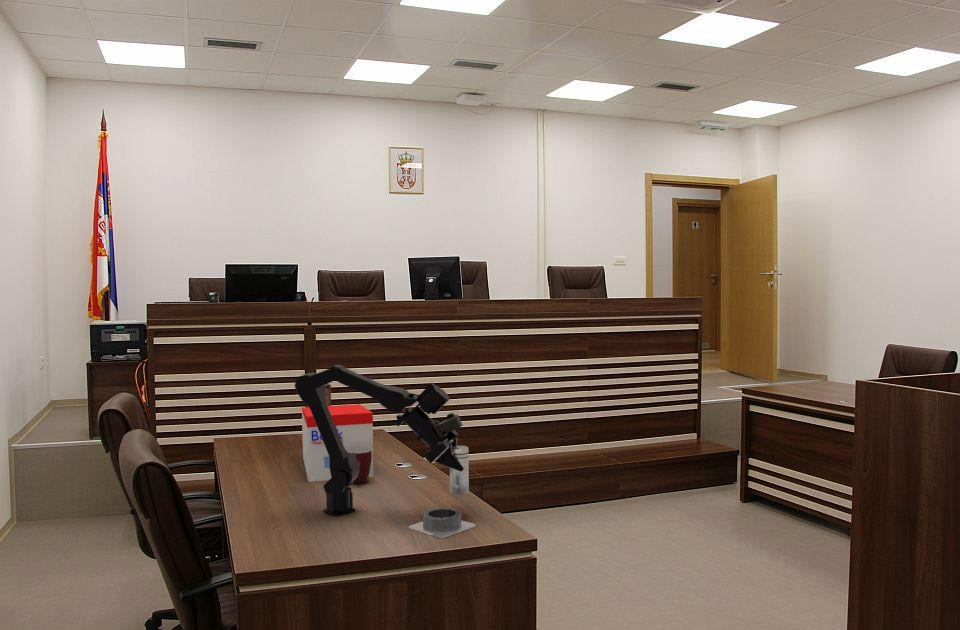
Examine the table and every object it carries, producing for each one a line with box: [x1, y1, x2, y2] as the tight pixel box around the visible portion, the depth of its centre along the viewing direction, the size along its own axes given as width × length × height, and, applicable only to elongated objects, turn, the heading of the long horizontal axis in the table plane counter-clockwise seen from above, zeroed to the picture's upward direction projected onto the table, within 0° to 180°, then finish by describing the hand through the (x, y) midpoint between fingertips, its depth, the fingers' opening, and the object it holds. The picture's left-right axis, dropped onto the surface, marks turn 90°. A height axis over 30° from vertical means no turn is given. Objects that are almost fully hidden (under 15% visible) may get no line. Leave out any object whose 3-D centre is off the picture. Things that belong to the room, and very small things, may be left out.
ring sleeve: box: [408, 507, 476, 539], centre depth 191 cm, size 12×12×4 cm
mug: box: [346, 448, 372, 485], centre depth 234 cm, size 11×8×10 cm
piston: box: [449, 445, 470, 496], centre depth 200 cm, size 5×5×12 cm
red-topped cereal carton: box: [301, 403, 374, 482], centre depth 256 cm, size 21×35×21 cm, turn 16°
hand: (464, 467), depth 200 cm, fingers closed on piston, 5 cm apart
